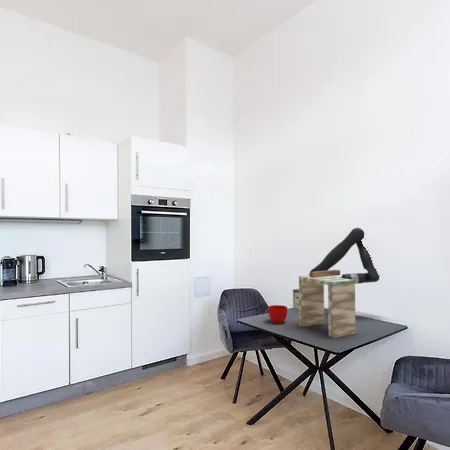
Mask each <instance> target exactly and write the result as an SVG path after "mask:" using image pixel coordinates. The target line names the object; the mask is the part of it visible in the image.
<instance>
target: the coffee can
mask: <svg viewBox="0 0 450 450" xmlns="http://www.w3.org/2000/svg"><path fill="white" fill-rule="evenodd" d="M292 308H293V309H294V310H299V288H296V289H294V288H293V289H292Z"/></svg>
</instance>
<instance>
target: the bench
mask: <svg viewBox="0 0 450 450" xmlns="http://www.w3.org/2000/svg"><path fill="white" fill-rule="evenodd" d="M339 277H340V276H327V277H317V278H312V277H310V275H309V274H308V275H300V276H298V289H299V309H298V310H299V311H298V315H299V317H298V321H299V322H298V323H299V326H301V327H303V328H304V327H309V326H316V325H321V324H325V286H327V301H328V302H327V303H328V304H327V306H328V308H327V309H328V310H327V311H328V312H327V313H328V315H327V316H328V318H327V319H328V337H329V338H333V339H335V338H339V337H345V336H350V335H353V334H356V330H357V329H356V327H357V326H356V284H355V280H351V279H345V278H342V277H341V278H339Z"/></svg>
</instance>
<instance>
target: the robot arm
mask: <svg viewBox="0 0 450 450" xmlns="http://www.w3.org/2000/svg"><path fill="white" fill-rule="evenodd" d="M364 233H365V231H364V230H363V229H362V228H360V227H355V228H352V230H350V232H349V233H348V234H347V236H346V237H345V238H344V239H343V240H342V241H341V242H339V243H338V244H337V245H336V246H334V248H332V249H331V250H330V251H329V252H328V253H327V254H326V256H325V257H324V258H323V259H322V261H321V262H320V263H319V264H318V265H316V266H315V267H314V268H312V269H311V270H310V271H309V274H308V275H310V272H316V271H327V270H331V268H332V267H334V266H335V265H336V264H337V263H338V262H339V263H340V261H341V260H342V259H343V258H344V257H345V256H346V255H347V253H348V252H349V251H350V250H351V248H352V247H353V246H354V245H356V247H357V250H358V254H359V257H360V258H359V259H360V261H361V265H362V268H363V269H364V270H366V271H367V272H364V273H363V272H362V273H361V272H360V273H359V272H358V273H357V272H356V273H343V274H341V277H340V276H338V277H339V278H345V279H351V280H355V285H357V284H366V283H369V282H370V283H376V282H378V281H379V280H380V274H379V275H378V273H379V272H378V273H377V271H378V270H377V268H376V267H375V268H376V269H375V268H374V266H375V265H374V262H373V259H372V257H370V256H371V254H370V255H369V253H370V252H369V253H368V251H369V250H368V251H367V250H366V248H365V247H364V246H363V244H362V241H361V240H362V239H363V238H364V235H365V234H364ZM371 259H372V260H371ZM372 262H373V263H372ZM373 265H374V266H373ZM376 270H377V271H376Z"/></svg>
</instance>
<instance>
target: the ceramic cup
mask: <svg viewBox="0 0 450 450" xmlns="http://www.w3.org/2000/svg"><path fill="white" fill-rule="evenodd" d="M267 310H268V316H269V318H270V320H271V321H272V323H274V324H283V323H284V322H285V320H286V318H287V316H288V307H287V306H286V305H279V304H274V305H272V304H271V305H268V309H267Z"/></svg>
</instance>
